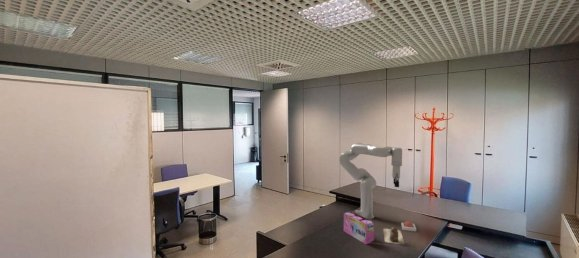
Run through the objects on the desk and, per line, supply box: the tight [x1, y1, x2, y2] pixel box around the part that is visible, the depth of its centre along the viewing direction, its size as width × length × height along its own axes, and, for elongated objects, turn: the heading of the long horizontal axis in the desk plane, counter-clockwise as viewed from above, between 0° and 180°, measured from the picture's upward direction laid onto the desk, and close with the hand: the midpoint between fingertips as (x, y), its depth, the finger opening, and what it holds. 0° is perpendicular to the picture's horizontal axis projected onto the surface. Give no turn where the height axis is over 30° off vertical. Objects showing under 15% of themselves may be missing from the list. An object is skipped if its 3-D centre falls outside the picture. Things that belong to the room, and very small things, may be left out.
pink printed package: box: [343, 210, 375, 245], centre depth 178 cm, size 24×8×14 cm, turn 29°
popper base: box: [400, 221, 417, 232], centre depth 188 cm, size 9×9×3 cm
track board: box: [382, 228, 405, 245], centre depth 176 cm, size 12×22×1 cm, turn 163°
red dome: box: [404, 220, 413, 228], centre depth 188 cm, size 5×5×6 cm
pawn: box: [390, 226, 399, 242], centre depth 169 cm, size 5×5×9 cm
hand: (396, 185), depth 198 cm, fingers open, 9 cm apart
